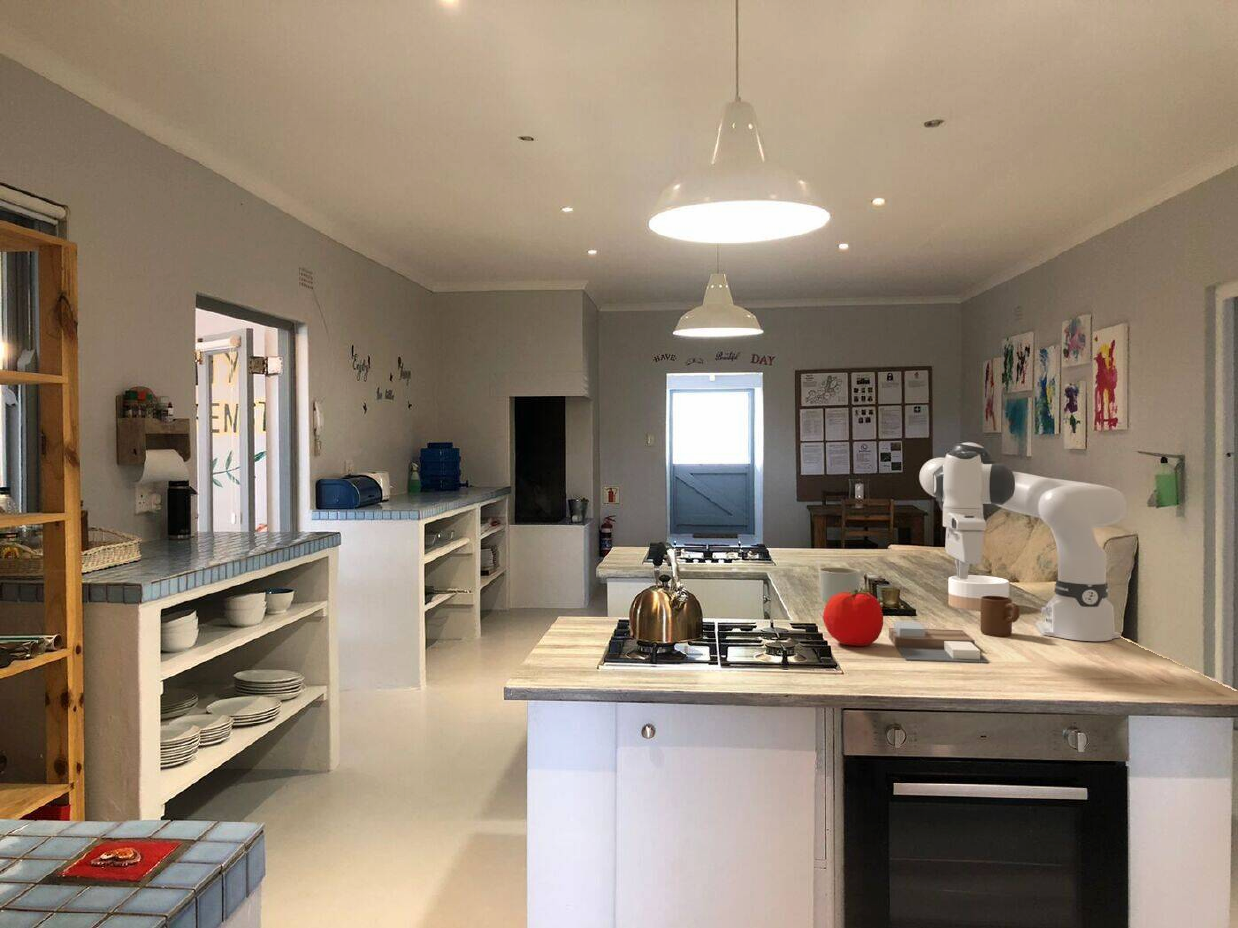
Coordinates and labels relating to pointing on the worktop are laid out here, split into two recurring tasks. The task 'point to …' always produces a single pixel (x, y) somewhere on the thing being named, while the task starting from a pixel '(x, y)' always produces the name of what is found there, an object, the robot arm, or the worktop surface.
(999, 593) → the bowl
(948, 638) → the brown wooden flat board
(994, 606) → the mug
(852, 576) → the planter
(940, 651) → the mat
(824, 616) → the tomato
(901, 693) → the worktop surface
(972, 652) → the ivory block
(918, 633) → the light gray block
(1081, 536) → the robot arm
